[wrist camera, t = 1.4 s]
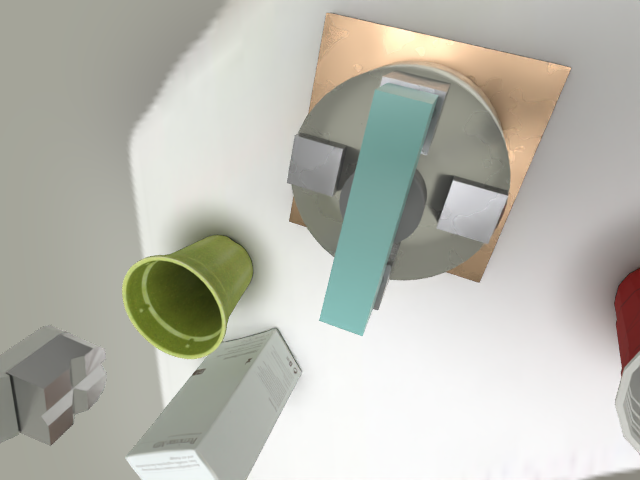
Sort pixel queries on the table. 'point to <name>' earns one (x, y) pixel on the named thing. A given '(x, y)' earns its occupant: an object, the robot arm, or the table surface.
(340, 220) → the socket
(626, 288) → the plastic cup
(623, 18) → the table surface
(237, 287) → the plant pot
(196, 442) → the skincare box
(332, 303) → the teal rectangular stick
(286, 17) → the table surface
